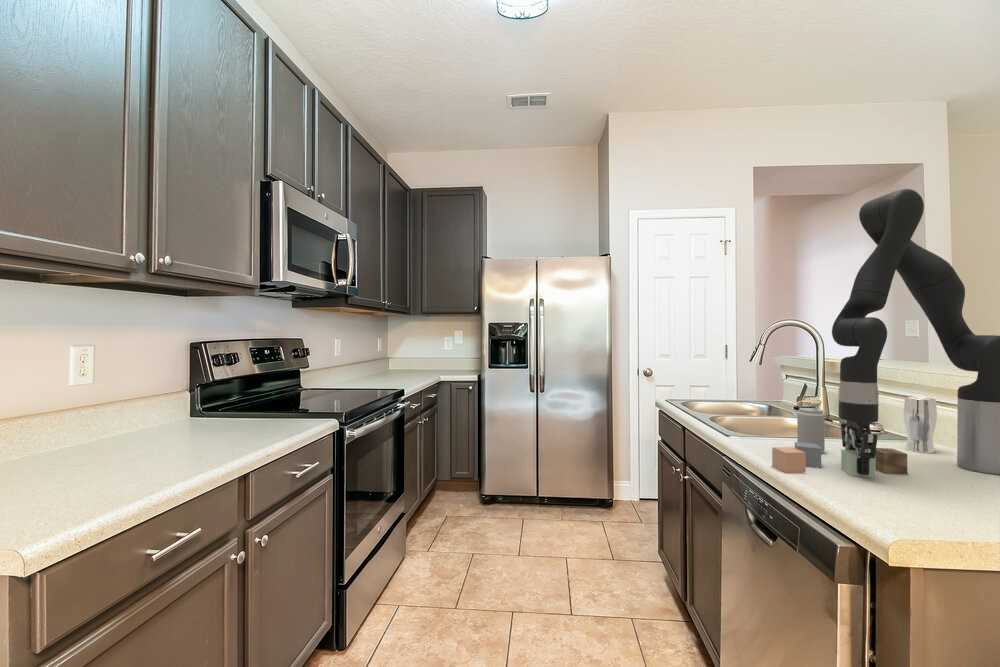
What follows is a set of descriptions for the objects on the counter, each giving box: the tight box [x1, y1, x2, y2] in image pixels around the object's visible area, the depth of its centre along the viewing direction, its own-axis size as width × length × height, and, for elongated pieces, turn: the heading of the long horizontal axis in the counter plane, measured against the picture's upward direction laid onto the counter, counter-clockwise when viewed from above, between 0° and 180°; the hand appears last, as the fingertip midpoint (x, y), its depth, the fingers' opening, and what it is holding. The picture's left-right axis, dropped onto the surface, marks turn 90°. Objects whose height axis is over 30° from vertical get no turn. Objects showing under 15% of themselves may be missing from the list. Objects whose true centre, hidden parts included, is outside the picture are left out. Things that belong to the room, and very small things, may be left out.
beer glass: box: [903, 396, 938, 454], centre depth 129 cm, size 7×7×15 cm
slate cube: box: [794, 441, 822, 469], centre depth 116 cm, size 5×5×5 cm
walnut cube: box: [870, 447, 908, 475], centre depth 110 cm, size 5×5×5 cm
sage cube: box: [840, 448, 876, 479], centre depth 108 cm, size 5×5×5 cm
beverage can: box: [796, 407, 826, 454], centre depth 128 cm, size 6×6×12 cm
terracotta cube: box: [771, 446, 807, 474], centre depth 111 cm, size 5×5×5 cm
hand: (857, 470), depth 108 cm, fingers closed on sage cube, 5 cm apart
